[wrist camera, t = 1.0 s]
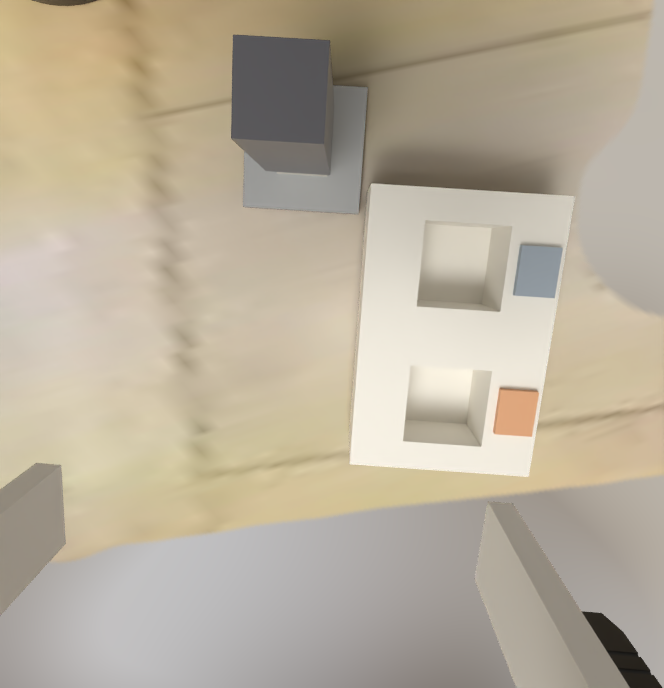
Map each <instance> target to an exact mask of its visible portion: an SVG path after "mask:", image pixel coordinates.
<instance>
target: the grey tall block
mask: <svg viewBox="0 0 664 688" xmlns="http://www.w3.org/2000/svg"><path fill="white" fill-rule="evenodd" d="M333 120H334V92H333V77H332V63H331V48H330V40H315V39H298V38H281V37H264V36H248V35H233V65H232V125H231V139H232V140H233V141H234V142H236V143H237V144H238V145H239V146H240V147H241V148H242V149H243V150H244V151H245V152H246V153H247V154H248V155H249V156H250V157H251V158H252V159H253V160H255V161H256V162H257V163H258V164H259V165H260V166H261V167H262V168H263V169H264V170H265V171H271V172H277V174H291V175H307V176H322V177H327V175H330V171H331V154H332V137H333Z"/></svg>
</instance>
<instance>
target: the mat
mask: <svg viewBox="0 0 664 688" xmlns="http://www.w3.org/2000/svg"><path fill="white" fill-rule="evenodd" d="M333 92H334V120H333V137H332V154H331V171H330V175H327V177H322V176H307V175H291V174H277V172H271V171H265V170H264V169H263V168H262V167H261V166H260V165H259V164H258V163H257V162H256V161H255V160H253V159H252V158H251V157H250V156H249V155H248V154H247V153H246V152H245V151H244V195H243V207H249V208H264V209H280V210H296V211H311V212H327V213H343V214H359V202H360V188H361V174H362V160H363V147H364V133H365V119H366V106H367V92H368V87H353V86H336V85H333Z"/></svg>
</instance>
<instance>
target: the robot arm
mask: <svg viewBox="0 0 664 688" xmlns="http://www.w3.org/2000/svg"><path fill="white" fill-rule="evenodd" d="M33 1H36V2H40V3H45V4H50V5H60V6H69V5H80V4H85V3H89V2H93V1H96V0H33ZM65 544H66V540H65V523H64V506H63V489H62V472H61V465H54V464H42V463H36V464H34V465H33V466H32V467H30V468H29V469H28V470H26V471H25V472H23V473H22V474H21V475H19V476H18V477H17V478H15V479H14V480H13V481H11V482H10V483H9V484H7V485H6V486H5V487H3V488H2V489H0V616H1V614H2V613H3V612H4V611H5V610H6V609H7V608H8V607H9V605H10V604H11V603H12V602H13V601H14V600H15V599H16V598H17V597H18V596H19V595H20V593H21V592H22V591H23V590H24V589H25V588H26V587H27V586H28V584H29V583H30V582H31V581H32V580H33V579H34V578H35V577H36V576H37V575H38V574H39V572H40V571H41V570H42V569H43V568H44V567H45V566H46V565H47V564H48V563H49V561H50V560H51V559H52V558H53V557H54V556H55V555H56V554H57V553H58V551H59V550H60V549H61V548H62V547H63V546H64V545H65ZM475 581H476V584H477V587H478V589H479V592H480V594H481V597H482V600H483V602H484V605H485V608H486V610H487V613H488V615H489V618H490V621H491V623H492V626H493V628H494V631H495V633H496V636H497V639H498V641H499V644H500V647H501V649H502V652H503V655H504V657H505V660H506V662H507V665H508V668H509V670H510V673H511V675H512V678H513V680H514V683H515V686H516V688H662V686H661V685H660V684H659V682H658V681H657V679H656V678H655V676H654V675H651V673H650V669H649V668H648V667H647V665H646V664H645V662H644V661H643V659H642V658H641V657H638V652H637V651H636V650H635V648H634V647H633V645H632V644H631V643H630V641H629V640H628V638H627V637H626V635H625V634H624V633H623V632H622V631H621V630H620V629H619V628H618V627H617V626H616V625H615V624H613V623H612V622H611V621H610V620H609V619H608V618H606V617H605V616H604V615H603V614H602V613H593V612H582V611H581V610H580V609H579V607H578V605H577V604H576V602H575V600H574V599H573V597H572V596H571V594H570V593H569V591H568V590H567V588H566V586H565V585H564V583H563V582H562V580H561V578H560V577H559V575H558V574H557V572H556V571H555V569H554V568H553V566H552V564H551V563H550V561H549V560H548V558H547V556H546V555H545V553H544V552H543V550H542V548H541V547H540V545H539V544H538V542H537V541H536V539H535V537H534V536H533V534H532V533H531V531H530V530H529V528H528V527H527V525H526V523H525V522H524V520H523V519H522V517H521V515H520V514H519V512H518V511H517V509H516V508H515V506H514V505H513V503H501V502H489V501H488V504H487V509H486V515H485V521H484V527H483V532H482V538H481V544H480V550H479V555H478V561H477V567H476V572H475Z"/></svg>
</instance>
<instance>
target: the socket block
mask: <svg viewBox="0 0 664 688" xmlns="http://www.w3.org/2000/svg"><path fill="white" fill-rule="evenodd" d="M574 201H575V196H564V195H548V194H533V193H517V192H501V191H485V190H469V189H453V188H438V187H422V186H406V185H390V184H374V183H371V185H370V187H369V190H368V192H367V201H366V214H365V228H364V241H363V254H362V267H361V280H360V294H359V307H358V320H357V333H356V346H355V359H354V373H353V386H352V399H351V412H350V425H349V461H350V464H355V465H369V466H383V467H397V468H411V469H426V470H440V471H454V472H468V473H483V474H497V475H511V476H525V477H529V471H530V465H531V459H532V453H533V447H534V441H535V435H536V429H537V423H538V417H539V411H540V405H541V399H542V393H543V387H544V381H545V375H546V369H547V363H548V357H549V351H550V345H551V339H552V333H553V327H554V321H555V315H556V309H557V303H558V297H559V291H560V285H561V279H562V273H563V267H564V261H565V255H566V249H567V243H568V237H569V231H570V225H571V219H572V213H573V207H574Z"/></svg>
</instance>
